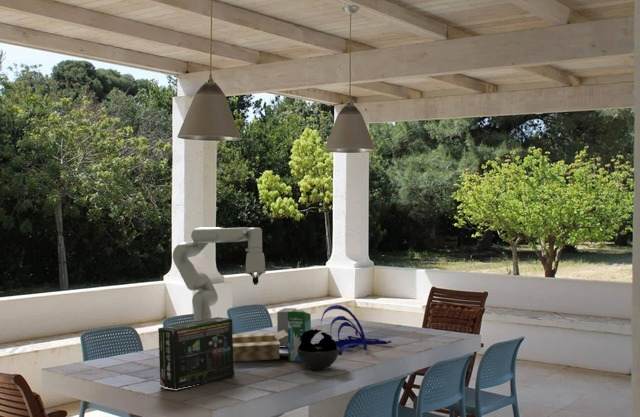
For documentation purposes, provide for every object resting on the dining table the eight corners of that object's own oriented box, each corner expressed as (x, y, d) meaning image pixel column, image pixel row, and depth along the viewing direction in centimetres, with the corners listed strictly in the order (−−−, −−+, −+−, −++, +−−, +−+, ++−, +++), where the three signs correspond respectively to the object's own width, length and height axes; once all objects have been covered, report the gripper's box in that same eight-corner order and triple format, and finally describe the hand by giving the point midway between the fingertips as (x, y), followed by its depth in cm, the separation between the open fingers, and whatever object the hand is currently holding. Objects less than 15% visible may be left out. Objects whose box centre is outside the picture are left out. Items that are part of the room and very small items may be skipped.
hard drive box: (290, 348, 408) (290, 311, 407) (277, 348, 409) (276, 311, 409) (297, 343, 423) (296, 307, 423) (284, 342, 424) (283, 307, 424)
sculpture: (392, 345, 407) (388, 299, 406) (350, 362, 383) (344, 312, 381) (345, 339, 432) (341, 295, 430) (302, 354, 408) (297, 308, 406)
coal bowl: (298, 364, 366) (298, 326, 366) (339, 364, 366) (338, 325, 366) (296, 374, 346) (295, 333, 346) (339, 373, 346) (338, 333, 346)
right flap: (278, 339, 381) (288, 334, 382) (274, 333, 398) (283, 329, 399) (278, 340, 381) (288, 336, 382) (274, 334, 398) (284, 330, 399)
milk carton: (311, 358, 382) (310, 309, 381) (305, 361, 373) (304, 311, 373) (294, 357, 385) (294, 308, 384) (288, 360, 376) (287, 311, 376)
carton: (233, 364, 369) (232, 346, 369) (228, 351, 401) (228, 335, 401) (281, 361, 374) (281, 343, 374) (273, 349, 406) (273, 332, 406)
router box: (219, 373, 352) (217, 316, 352) (235, 376, 345) (234, 318, 345) (157, 388, 325) (156, 327, 324) (173, 392, 318) (172, 329, 317)
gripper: (241, 251, 398) (241, 285, 398) (269, 250, 400) (269, 285, 400) (240, 250, 405) (241, 284, 406) (268, 249, 407) (268, 283, 408)
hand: (255, 284), depth 403 cm, fingers closed
